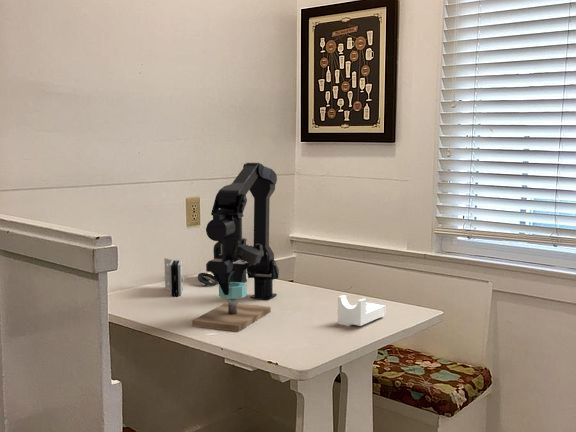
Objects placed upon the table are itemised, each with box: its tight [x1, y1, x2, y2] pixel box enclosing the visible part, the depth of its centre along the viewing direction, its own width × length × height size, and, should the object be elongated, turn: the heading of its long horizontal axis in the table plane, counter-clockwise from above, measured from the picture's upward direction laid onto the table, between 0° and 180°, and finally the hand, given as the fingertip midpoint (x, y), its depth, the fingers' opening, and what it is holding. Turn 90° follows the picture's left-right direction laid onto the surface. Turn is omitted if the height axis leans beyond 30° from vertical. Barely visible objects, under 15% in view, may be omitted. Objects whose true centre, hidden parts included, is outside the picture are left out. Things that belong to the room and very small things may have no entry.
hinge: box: [163, 257, 184, 298], centre depth 210 cm, size 14×5×10 cm, turn 18°
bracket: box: [337, 294, 386, 327], centre depth 176 cm, size 13×7×8 cm, turn 142°
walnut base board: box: [191, 301, 272, 332], centre depth 179 cm, size 20×14×2 cm
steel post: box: [227, 298, 238, 315], centre depth 178 cm, size 2×2×6 cm
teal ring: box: [218, 282, 247, 300], centre depth 178 cm, size 7×7×3 cm
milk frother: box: [197, 238, 248, 286], centre depth 222 cm, size 14×16×15 cm
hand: (232, 291), depth 178 cm, fingers closed on teal ring, 7 cm apart
